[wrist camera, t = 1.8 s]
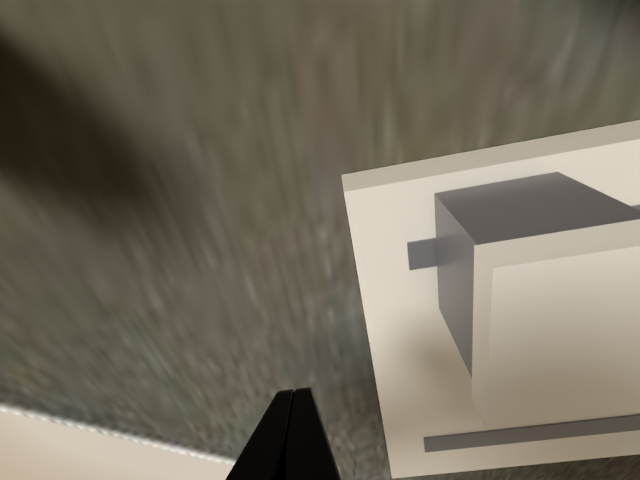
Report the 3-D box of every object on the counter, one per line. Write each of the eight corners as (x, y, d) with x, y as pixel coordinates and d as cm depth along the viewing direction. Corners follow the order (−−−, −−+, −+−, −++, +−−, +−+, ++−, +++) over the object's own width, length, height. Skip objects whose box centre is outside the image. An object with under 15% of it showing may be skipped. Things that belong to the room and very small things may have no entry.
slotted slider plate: (1015, 50, 12) (1148, 48, 10) (786, 401, 20) (835, 437, 18) (341, 175, 14) (343, 193, 12) (386, 444, 22) (392, 480, 20)
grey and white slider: (565, 164, 11) (723, 233, 7) (546, 296, 14) (654, 410, 9) (427, 188, 12) (493, 268, 7) (433, 312, 14) (485, 429, 10)
